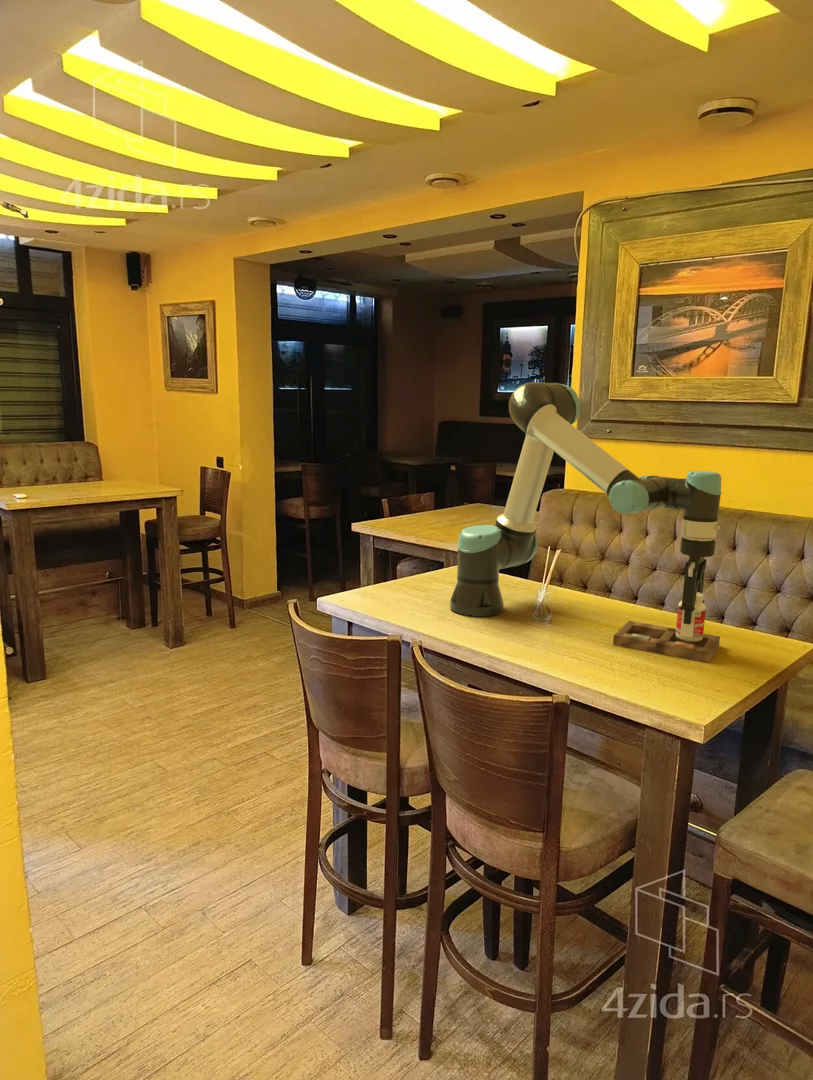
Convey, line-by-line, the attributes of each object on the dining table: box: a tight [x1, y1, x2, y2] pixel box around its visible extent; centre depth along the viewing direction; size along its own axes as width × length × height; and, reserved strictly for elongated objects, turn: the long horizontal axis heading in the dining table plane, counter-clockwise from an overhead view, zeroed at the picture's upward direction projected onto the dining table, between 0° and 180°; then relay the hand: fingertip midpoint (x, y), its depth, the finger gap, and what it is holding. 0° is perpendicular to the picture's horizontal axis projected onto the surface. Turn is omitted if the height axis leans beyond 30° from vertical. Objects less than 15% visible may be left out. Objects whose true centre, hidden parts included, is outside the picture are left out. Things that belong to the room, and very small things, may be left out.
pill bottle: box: [675, 592, 707, 641], centre depth 167 cm, size 6×6×11 cm
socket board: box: [612, 620, 721, 664], centre depth 171 cm, size 22×14×3 cm, turn 58°
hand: (689, 632), depth 168 cm, fingers closed on pill bottle, 6 cm apart
